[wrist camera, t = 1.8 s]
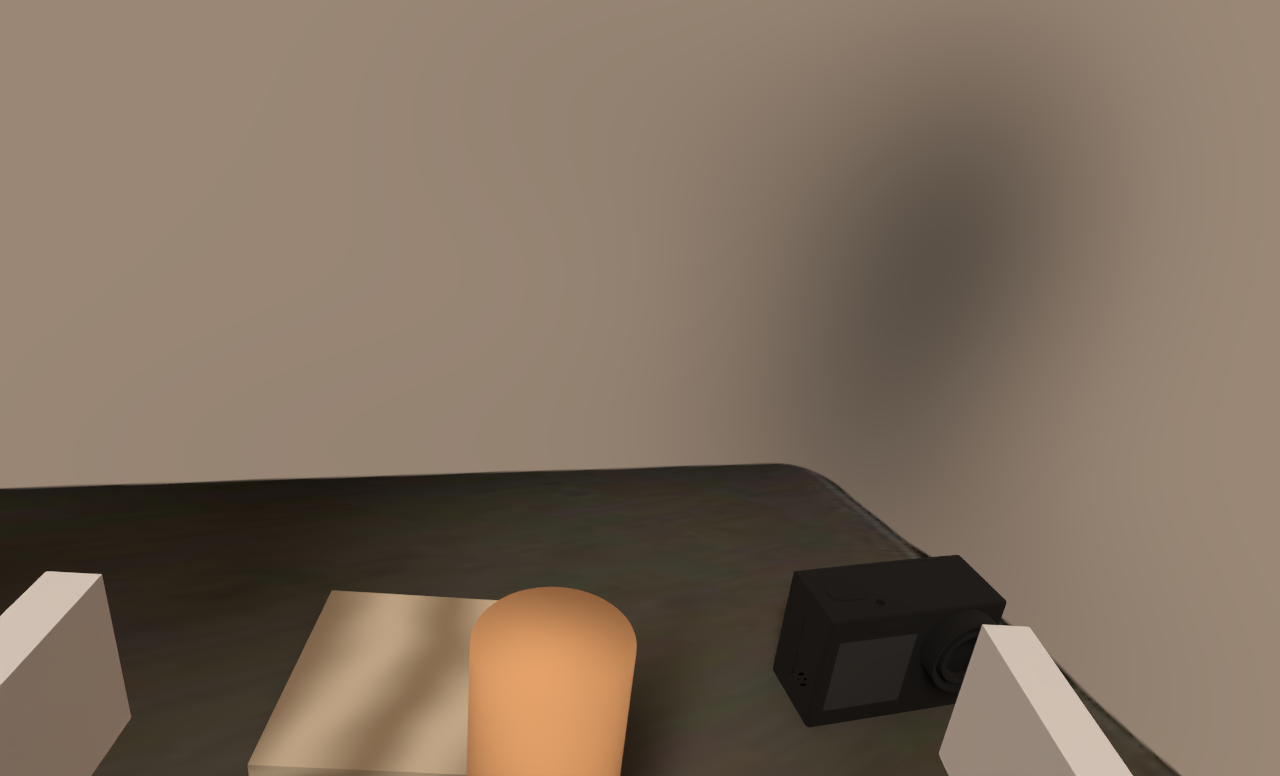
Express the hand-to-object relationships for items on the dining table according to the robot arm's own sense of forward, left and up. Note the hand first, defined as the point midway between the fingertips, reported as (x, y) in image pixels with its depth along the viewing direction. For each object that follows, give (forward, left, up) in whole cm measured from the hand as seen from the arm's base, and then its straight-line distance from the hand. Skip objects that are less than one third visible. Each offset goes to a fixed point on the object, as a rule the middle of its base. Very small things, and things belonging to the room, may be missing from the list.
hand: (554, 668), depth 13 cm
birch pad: (-7, +23, -23) cm, 33 cm away
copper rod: (0, +10, -23) cm, 25 cm away
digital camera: (+18, +24, -23) cm, 38 cm away
